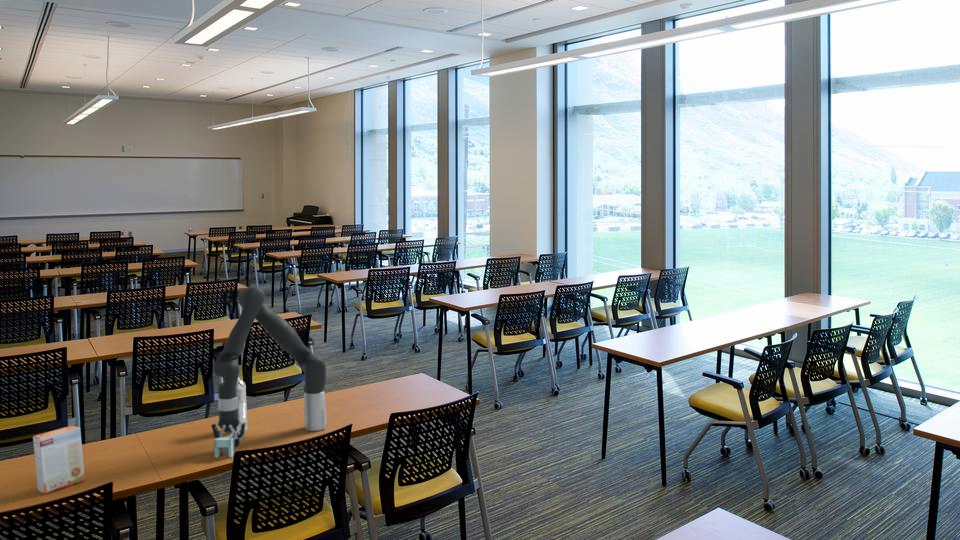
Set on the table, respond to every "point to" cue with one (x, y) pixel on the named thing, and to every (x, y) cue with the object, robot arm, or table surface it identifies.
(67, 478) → the cracker box
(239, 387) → the water bottle
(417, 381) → the table surface
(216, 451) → the lock collar
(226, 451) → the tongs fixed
